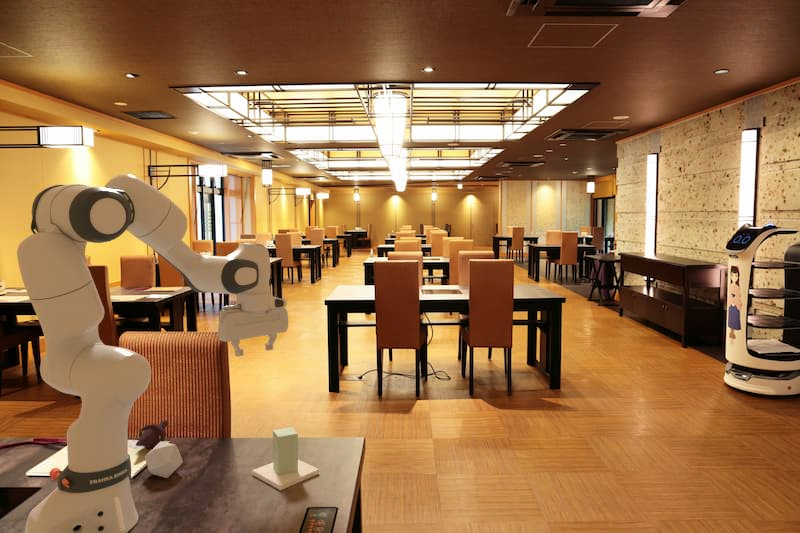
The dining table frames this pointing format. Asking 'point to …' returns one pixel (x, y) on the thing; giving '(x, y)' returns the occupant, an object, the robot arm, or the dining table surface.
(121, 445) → the robot arm
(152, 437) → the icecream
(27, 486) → the dining table surface
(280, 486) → the cream tile
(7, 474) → the dining table surface
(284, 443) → the green block
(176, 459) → the die
